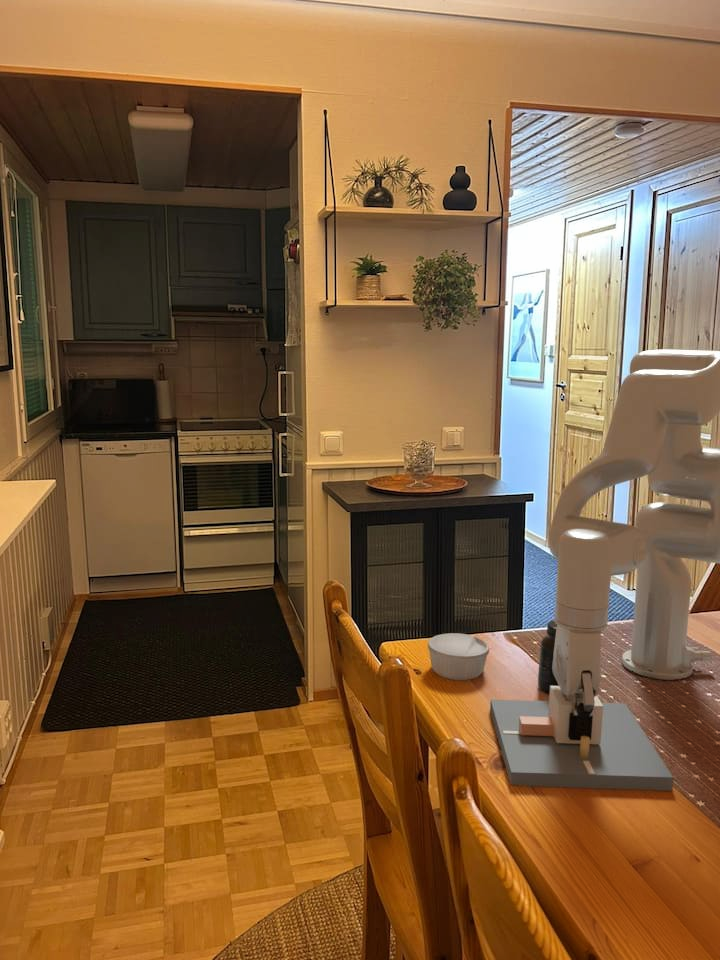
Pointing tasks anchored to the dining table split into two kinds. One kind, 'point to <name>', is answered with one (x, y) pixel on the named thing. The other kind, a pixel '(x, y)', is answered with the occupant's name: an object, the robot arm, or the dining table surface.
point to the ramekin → (458, 655)
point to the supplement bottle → (547, 659)
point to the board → (579, 751)
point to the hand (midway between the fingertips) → (573, 726)
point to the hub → (560, 719)
